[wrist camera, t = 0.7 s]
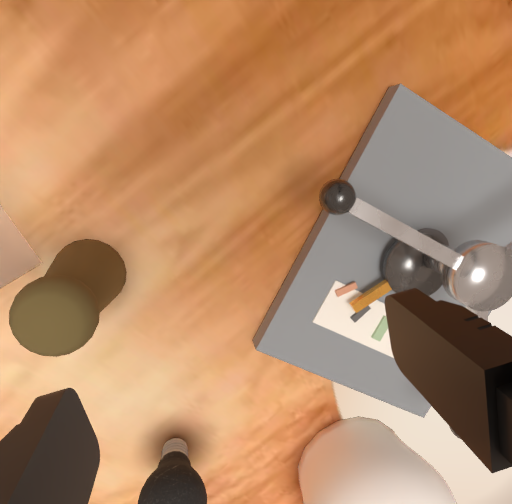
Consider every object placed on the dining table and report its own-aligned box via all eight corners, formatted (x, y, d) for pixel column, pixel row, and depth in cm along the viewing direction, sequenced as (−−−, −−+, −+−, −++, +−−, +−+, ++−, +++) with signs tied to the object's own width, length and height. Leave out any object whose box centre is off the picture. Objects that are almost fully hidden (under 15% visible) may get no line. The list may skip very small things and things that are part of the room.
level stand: (388, 87, 35) (403, 82, 32) (547, 191, 40) (570, 194, 38) (252, 340, 39) (256, 352, 36) (413, 406, 44) (426, 420, 41)
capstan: (512, 35, 33) (609, 1, 25) (598, 274, 40) (692, 302, 32) (280, 190, 33) (307, 201, 25) (408, 401, 40) (458, 458, 32)
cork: (140, 278, 35) (120, 332, 25) (86, 319, 36) (43, 390, 25) (93, 225, 34) (50, 258, 23) (36, 267, 34) (-33, 320, 23)
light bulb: (134, 451, 39) (117, 547, 30) (168, 409, 39) (162, 493, 29) (182, 475, 41) (180, 574, 31) (215, 434, 40) (223, 522, 31)
